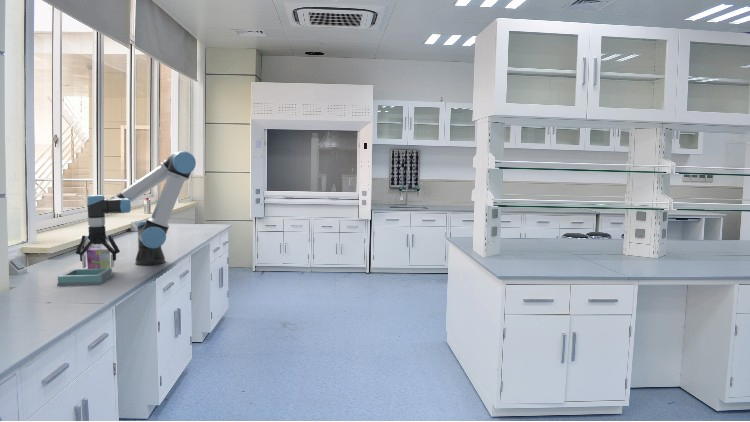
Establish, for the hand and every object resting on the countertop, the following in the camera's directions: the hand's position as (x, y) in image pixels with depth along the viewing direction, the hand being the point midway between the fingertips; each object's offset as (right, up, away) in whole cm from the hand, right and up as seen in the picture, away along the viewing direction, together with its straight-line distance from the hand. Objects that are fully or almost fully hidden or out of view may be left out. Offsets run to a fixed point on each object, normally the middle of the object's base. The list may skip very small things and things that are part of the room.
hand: (98, 267), depth 266 cm
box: (0, -3, 0) cm, 3 cm away
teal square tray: (+4, -4, -18) cm, 19 cm away
